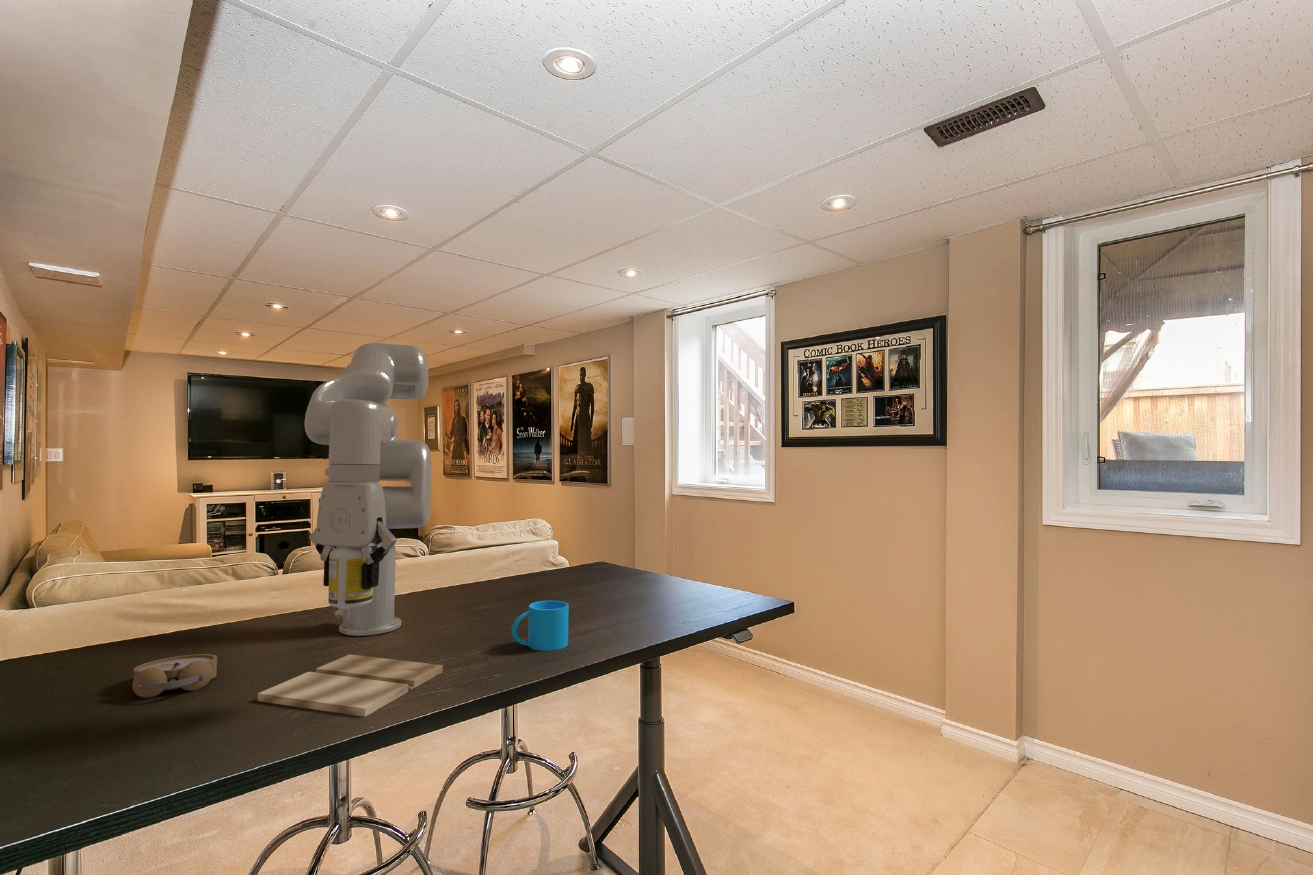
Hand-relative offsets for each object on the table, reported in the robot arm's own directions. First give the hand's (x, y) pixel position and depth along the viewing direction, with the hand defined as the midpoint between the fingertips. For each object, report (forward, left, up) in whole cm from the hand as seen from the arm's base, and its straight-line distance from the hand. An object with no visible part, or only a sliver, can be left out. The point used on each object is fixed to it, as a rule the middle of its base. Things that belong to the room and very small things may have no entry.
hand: (351, 585), depth 99 cm
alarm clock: (-31, -4, -18) cm, 36 cm away
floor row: (-2, +10, -18) cm, 21 cm away
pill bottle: (0, 0, -3) cm, 3 cm away
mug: (+18, +33, -18) cm, 42 cm away
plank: (-2, 0, -18) cm, 18 cm away
